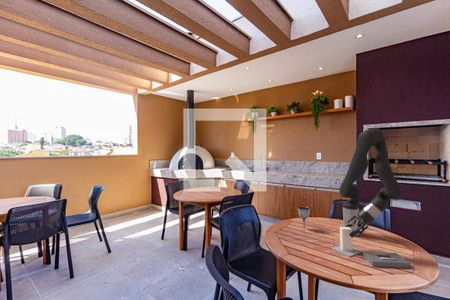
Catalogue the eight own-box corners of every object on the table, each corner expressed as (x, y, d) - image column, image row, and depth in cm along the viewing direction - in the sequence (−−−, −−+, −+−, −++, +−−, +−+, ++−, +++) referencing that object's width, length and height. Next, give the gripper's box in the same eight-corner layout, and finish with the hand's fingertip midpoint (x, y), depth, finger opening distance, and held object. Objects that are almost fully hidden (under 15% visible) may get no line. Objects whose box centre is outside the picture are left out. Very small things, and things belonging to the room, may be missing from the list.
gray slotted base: (396, 257, 112) (396, 251, 112) (409, 268, 103) (409, 261, 103) (362, 256, 115) (362, 250, 115) (372, 266, 105) (372, 259, 105)
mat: (344, 244, 129) (343, 243, 129) (362, 252, 119) (362, 251, 119) (331, 248, 125) (331, 247, 125) (349, 257, 115) (349, 256, 115)
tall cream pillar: (349, 248, 123) (349, 227, 123) (352, 251, 120) (351, 229, 120) (340, 247, 124) (339, 226, 124) (342, 250, 121) (342, 229, 121)
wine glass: (309, 227, 159) (309, 206, 159) (310, 231, 152) (309, 209, 151) (298, 226, 162) (297, 206, 162) (298, 230, 154) (297, 209, 154)
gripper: (358, 205, 127) (337, 224, 129) (370, 212, 113) (347, 233, 115) (368, 214, 127) (347, 233, 128) (381, 222, 112) (358, 243, 114)
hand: (347, 233), depth 122 cm, fingers open, 8 cm apart
